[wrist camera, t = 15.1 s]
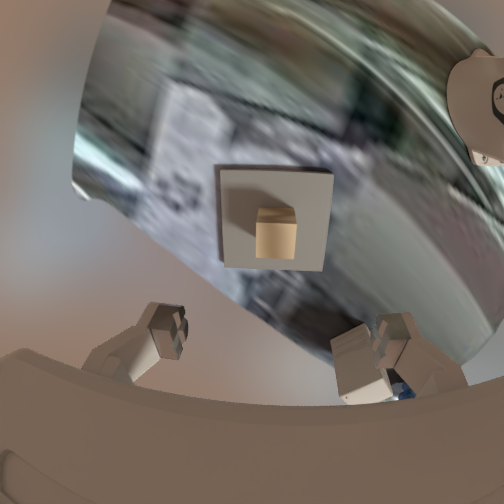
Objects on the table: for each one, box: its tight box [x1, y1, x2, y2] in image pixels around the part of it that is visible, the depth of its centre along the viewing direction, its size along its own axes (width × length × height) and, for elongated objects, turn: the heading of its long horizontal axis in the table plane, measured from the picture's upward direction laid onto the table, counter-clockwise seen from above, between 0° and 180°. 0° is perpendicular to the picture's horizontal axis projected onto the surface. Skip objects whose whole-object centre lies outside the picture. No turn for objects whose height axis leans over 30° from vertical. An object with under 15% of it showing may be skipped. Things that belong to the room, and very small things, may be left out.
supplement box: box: [330, 323, 393, 405], centre depth 42 cm, size 7×7×13 cm
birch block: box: [256, 207, 297, 259], centre depth 34 cm, size 4×4×5 cm
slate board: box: [220, 169, 334, 271], centre depth 37 cm, size 14×14×1 cm
